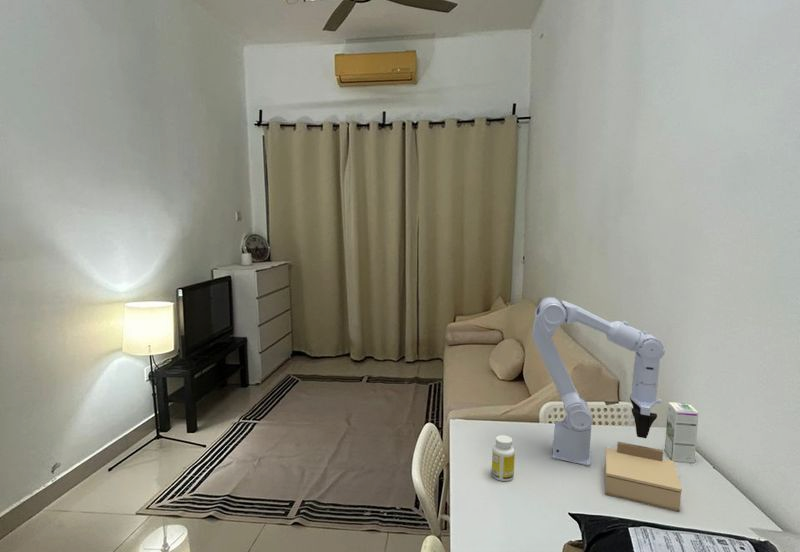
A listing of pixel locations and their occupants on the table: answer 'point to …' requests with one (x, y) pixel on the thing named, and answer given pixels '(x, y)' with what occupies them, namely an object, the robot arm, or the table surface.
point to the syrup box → (681, 432)
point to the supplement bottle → (503, 459)
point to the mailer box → (642, 493)
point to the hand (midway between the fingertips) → (640, 430)
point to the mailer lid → (642, 466)
